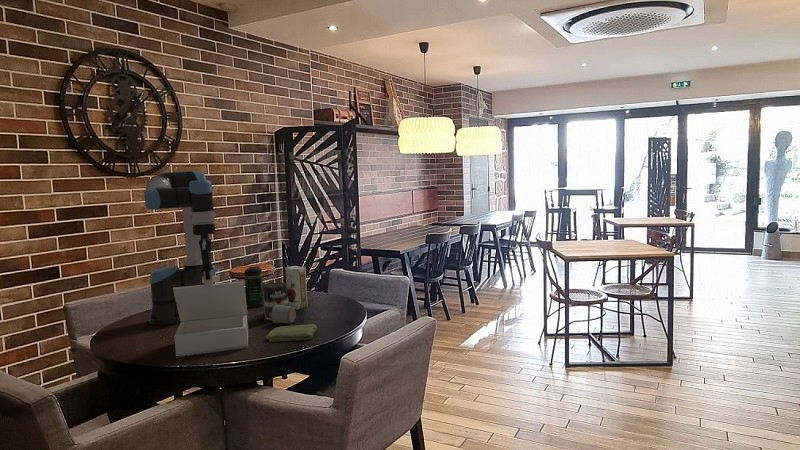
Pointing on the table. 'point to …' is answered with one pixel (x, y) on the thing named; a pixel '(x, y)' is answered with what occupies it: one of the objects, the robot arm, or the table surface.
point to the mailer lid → (210, 300)
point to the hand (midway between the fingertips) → (209, 288)
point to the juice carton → (296, 287)
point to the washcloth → (292, 333)
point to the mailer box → (211, 335)
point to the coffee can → (274, 297)
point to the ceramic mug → (283, 314)
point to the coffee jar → (254, 286)
